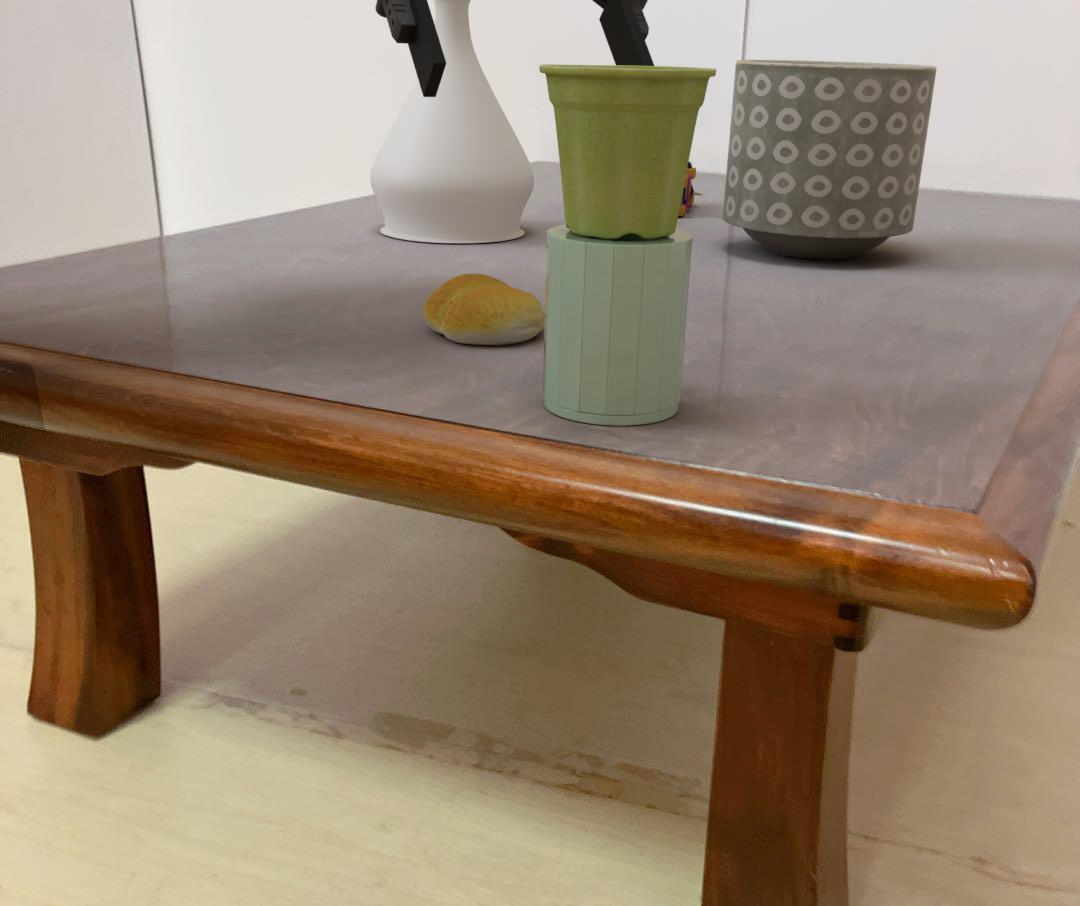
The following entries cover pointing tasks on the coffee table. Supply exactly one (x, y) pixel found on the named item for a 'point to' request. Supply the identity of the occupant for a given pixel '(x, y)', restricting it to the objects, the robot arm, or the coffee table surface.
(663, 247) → the cup
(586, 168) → the plant pot
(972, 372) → the coffee table surface
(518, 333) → the bread roll
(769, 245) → the planter
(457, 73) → the vase
